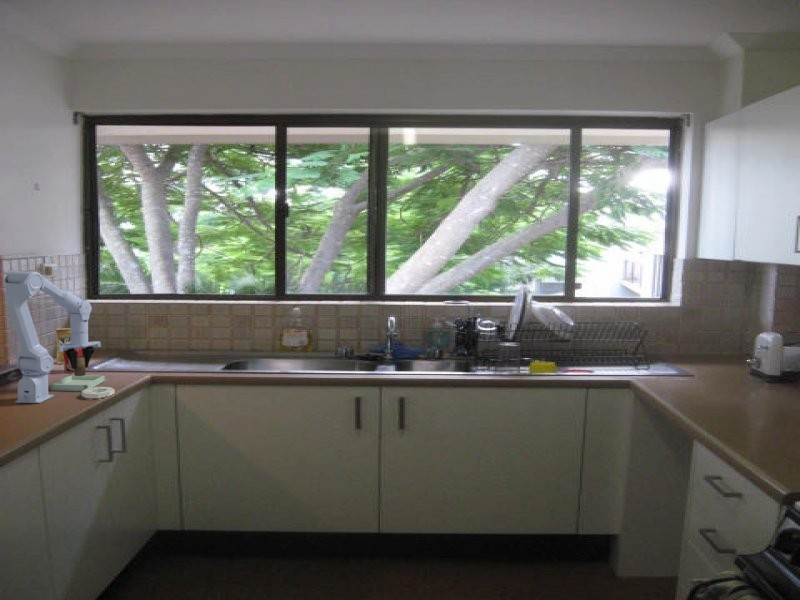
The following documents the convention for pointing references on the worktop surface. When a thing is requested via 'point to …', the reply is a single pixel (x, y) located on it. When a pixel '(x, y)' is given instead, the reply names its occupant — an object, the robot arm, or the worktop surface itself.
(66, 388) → the tray
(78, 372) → the dowel pin
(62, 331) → the candy box
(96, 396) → the white octagonal ring
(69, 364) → the soda can
